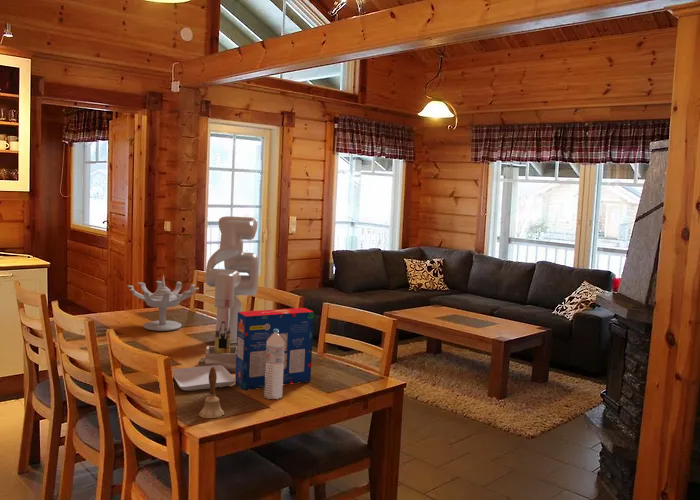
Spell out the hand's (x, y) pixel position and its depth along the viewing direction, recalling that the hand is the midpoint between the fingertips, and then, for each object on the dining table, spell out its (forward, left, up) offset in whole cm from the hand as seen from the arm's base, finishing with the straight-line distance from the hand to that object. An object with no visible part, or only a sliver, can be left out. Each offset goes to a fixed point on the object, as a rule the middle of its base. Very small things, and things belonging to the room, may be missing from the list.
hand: (222, 345), depth 262 cm
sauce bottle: (0, 0, -7) cm, 7 cm away
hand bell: (+53, -2, -9) cm, 54 cm away
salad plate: (+20, -7, -10) cm, 23 cm away
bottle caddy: (0, 0, -9) cm, 9 cm away
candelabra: (-66, -31, -9) cm, 73 cm away
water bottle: (+37, +19, -9) cm, 43 cm away
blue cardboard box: (+21, +20, -9) cm, 31 cm away
